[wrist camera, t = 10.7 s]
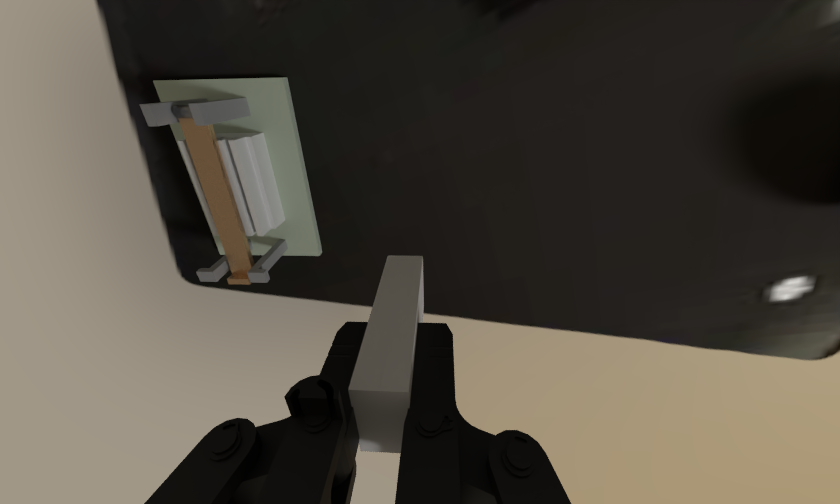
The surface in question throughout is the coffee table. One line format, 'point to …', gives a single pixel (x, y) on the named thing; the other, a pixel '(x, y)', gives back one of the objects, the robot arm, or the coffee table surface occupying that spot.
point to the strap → (217, 193)
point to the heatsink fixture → (248, 163)
